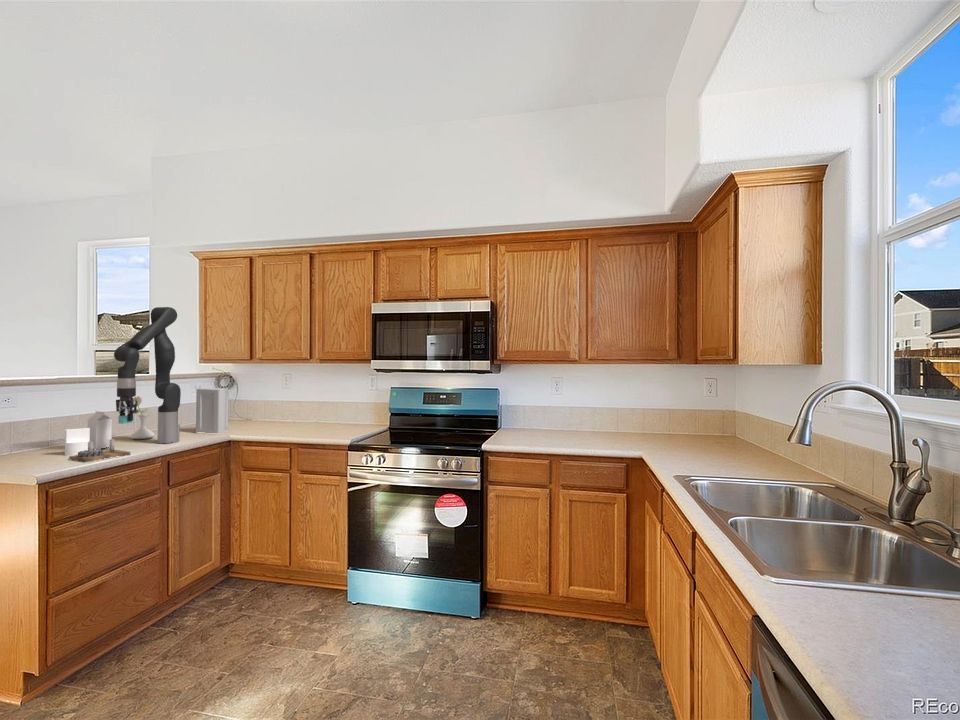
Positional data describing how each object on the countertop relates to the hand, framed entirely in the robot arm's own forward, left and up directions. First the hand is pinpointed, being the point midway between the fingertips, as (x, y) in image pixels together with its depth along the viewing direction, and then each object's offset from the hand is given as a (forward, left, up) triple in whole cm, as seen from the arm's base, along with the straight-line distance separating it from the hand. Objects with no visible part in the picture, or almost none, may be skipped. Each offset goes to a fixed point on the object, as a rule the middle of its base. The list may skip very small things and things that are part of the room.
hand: (126, 420), depth 226 cm
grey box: (-61, -17, -15) cm, 65 cm away
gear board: (+14, +7, -15) cm, 22 cm away
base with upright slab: (+14, -13, -16) cm, 25 cm away
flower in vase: (-25, -32, -15) cm, 43 cm away
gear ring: (0, 0, -1) cm, 1 cm away
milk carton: (+2, -19, -15) cm, 25 cm away
